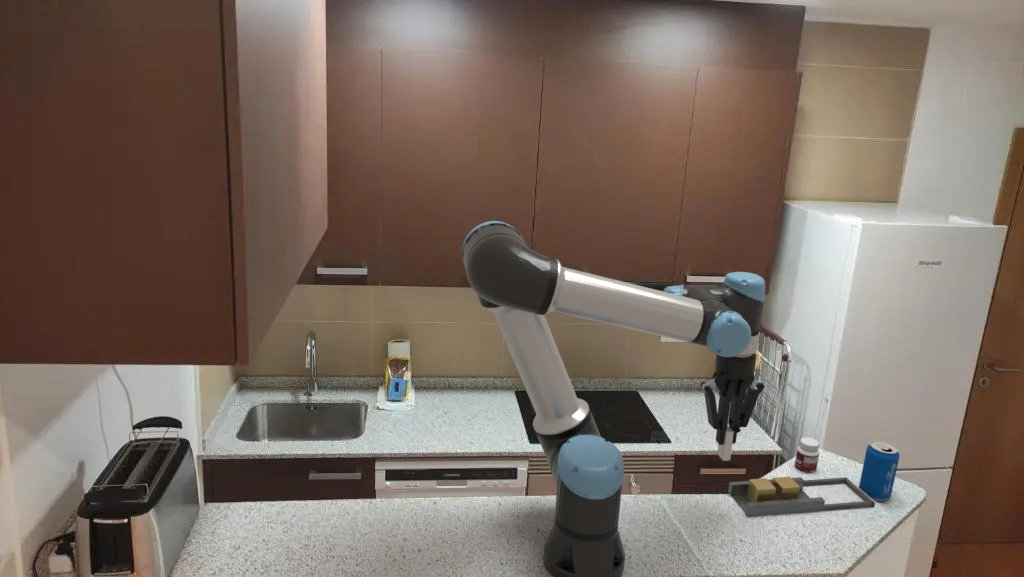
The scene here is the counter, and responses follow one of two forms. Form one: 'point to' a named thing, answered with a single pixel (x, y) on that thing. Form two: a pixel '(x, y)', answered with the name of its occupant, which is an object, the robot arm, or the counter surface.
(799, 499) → the slot rail
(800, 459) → the pill bottle
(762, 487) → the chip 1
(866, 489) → the beverage can
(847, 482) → the tray
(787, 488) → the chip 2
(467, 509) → the counter surface
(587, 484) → the robot arm
